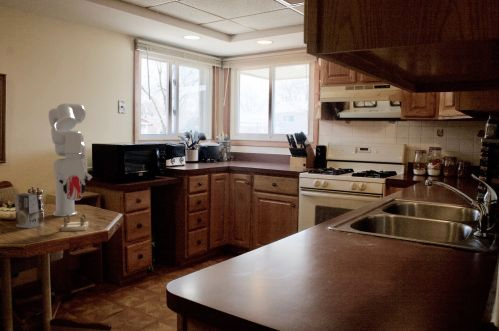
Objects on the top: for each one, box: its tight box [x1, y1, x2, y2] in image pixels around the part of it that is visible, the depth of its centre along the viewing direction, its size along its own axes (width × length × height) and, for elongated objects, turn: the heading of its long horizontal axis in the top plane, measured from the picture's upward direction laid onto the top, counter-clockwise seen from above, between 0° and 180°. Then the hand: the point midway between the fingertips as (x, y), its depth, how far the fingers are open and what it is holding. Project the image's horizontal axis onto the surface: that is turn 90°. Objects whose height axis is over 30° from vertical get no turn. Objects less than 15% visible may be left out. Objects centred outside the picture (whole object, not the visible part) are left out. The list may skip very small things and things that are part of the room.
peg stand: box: [60, 213, 89, 232], centre depth 205 cm, size 11×11×6 cm
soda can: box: [67, 176, 83, 201], centre depth 203 cm, size 7×7×12 cm
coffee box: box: [14, 192, 40, 229], centre depth 206 cm, size 9×6×16 cm
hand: (74, 192), depth 204 cm, fingers closed on soda can, 7 cm apart
